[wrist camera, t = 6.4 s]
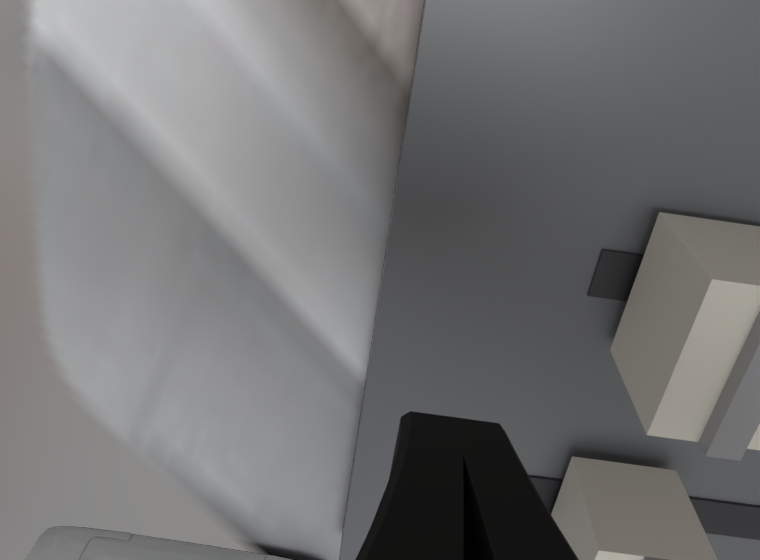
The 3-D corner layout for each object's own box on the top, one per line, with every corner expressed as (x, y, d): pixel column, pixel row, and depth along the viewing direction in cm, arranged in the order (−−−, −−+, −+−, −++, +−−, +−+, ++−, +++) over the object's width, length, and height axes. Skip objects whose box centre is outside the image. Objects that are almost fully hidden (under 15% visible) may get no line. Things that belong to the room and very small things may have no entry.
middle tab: (787, 230, 15) (881, 312, 12) (724, 366, 17) (792, 468, 14) (659, 212, 15) (720, 290, 12) (610, 350, 16) (652, 449, 13)
